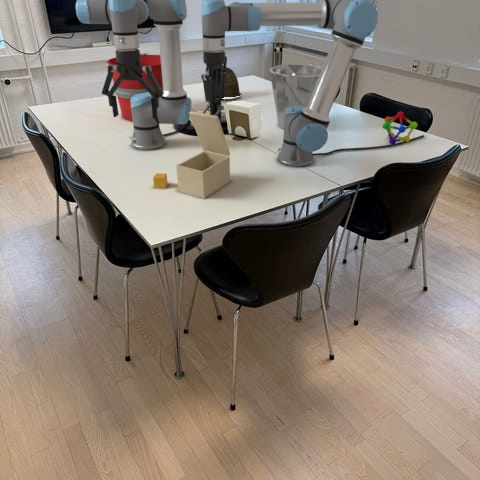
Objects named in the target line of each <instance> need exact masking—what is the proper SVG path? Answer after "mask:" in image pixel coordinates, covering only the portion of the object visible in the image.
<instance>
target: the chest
mask: <svg viewBox="0 0 480 480" xmlns="http://www.w3.org/2000/svg"><path fill="white" fill-rule="evenodd" d="M230 160H231V158H230V156H226V155H222V154H217V153H213V152H209V151H205V150H203V151H201V152H199V153H198V154H196V155H194V156H191V157H189V158H188V159H186V160H184V161H182V162H180V163H177V164H176V180H177V191H178V192H181V193H184V194H188V195H191V196H194V197H197V198H201V199H206V198H207V197H209V196H210V195H212V194H213V193H215V192H216V191H218V190H220V189H221V188H223V187H224V186H226V185H227V184H229V183H230V182H231V161H230Z"/></svg>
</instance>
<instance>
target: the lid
mask: <svg viewBox="0 0 480 480" xmlns="http://www.w3.org/2000/svg"><path fill="white" fill-rule="evenodd" d="M217 109H218V111H217V112H216V113H215V115H210V113H209V114H208V113H207V111H208V110H210V103H209V102H207V104H206V107H205V108H204V110H203V111H202V112H198V111H194V110H193V111H192V110H191V111H190V112H189V115H190V118H191V120H190V121H191V123H192V125H193V128H194V130H195V132H196V134H197V138H198V141H199V143H200V145H201V147H202V150H203V151H207V152H211V153H215V154H220V155H224V156H228V157H230V155H231V151H230V148H229V146H228V141H227V139H226V136H225V133H224V130H223V127H222V124H221V120H219V118H218V116H217V115H218V114H219V113H220V111H221V112H222V111H224V109H225V106H224V105H222V104H221V105H217Z"/></svg>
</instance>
